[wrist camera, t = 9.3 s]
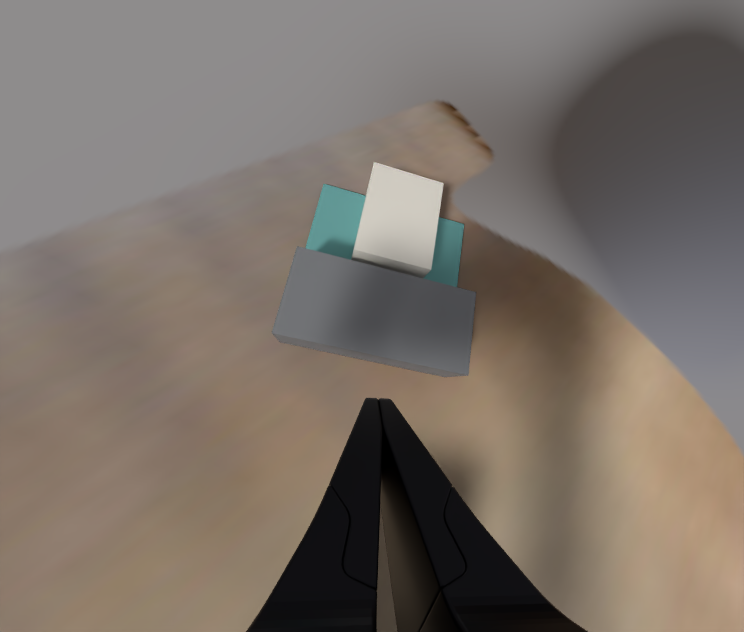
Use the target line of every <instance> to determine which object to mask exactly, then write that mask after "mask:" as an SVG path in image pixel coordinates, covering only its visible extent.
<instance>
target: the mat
mask: <svg viewBox="0 0 744 632" xmlns="http://www.w3.org/2000/svg"><path fill="white" fill-rule="evenodd" d="M365 197H366V196H365V195H361V194H358V193H354V192H351V191H347V190H344V189H340V188H337V187H333V186H330V185H326V184H324V185H323V188H322V192H321V195H320V199H319V202H318V206H317V209H316V213H315V216H314V220H313V223H312V227H311V230H310V234H309V238H308V241H307V245H306V249H310V250H314V251H318V252H322V253H326V254H330V255H334V256H337V257H341V258H345V259H349V260H351V258H352V254H353V249H354V245H355V241H356V236H357V232H358V228H359V223H360V219H361V215H362V210H363V206H364V202H365ZM463 229H464V224H462V223H458V222H455V221H451V220H448V219H444V218H441V217H439V219H438V226H437V233H436V240H435V247H434V254H433V261H432V268H431V271H430V272H429V273H428V274H427V275H426V276H425V277H424V278H423V279H427V280H431V281H435V282H439V283H443V284H446V285H450V286H454V287H457V282H458V273H459V265H460V256H461V247H462V238H463Z"/></svg>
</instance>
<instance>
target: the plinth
mask: <svg viewBox="0 0 744 632" xmlns="http://www.w3.org/2000/svg"><path fill="white" fill-rule="evenodd" d="M475 299H476V292H474V291H470V290H466V289H462V288H458V287H454V286H450V285H446V284H443V283H439V282H435V281H431V280H427V279H423V278H419V277H415V276H411V275H408V274H404V273H400V272H396V271H392V270H388V269H384V268H380V267H376V266H373V265H369V264H365V263H361V262H357V261H353V260H349V259H345V258H341V257H337V256H334V255H330V254H326V253H322V252H318V251H314V250H310V249H306V248H302V247H299V246H297V248H296V252H295V255H294V258H293V262H292V265H291V269H290V272H289V276H288V279H287V282H286V286H285V289H284V293H283V296H282V299H281V303H280V306H279V310H278V313H277V317H276V320H275V323H274V327H273V330H272V334H273V335H274V336H275V337H276V338H277V340H278V341H279V342H282V343H287V344H291V345H296V346H301V347H305V348H310V349H315V350H320V351H324V352H329V353H334V354H338V355H343V356H348V357H352V358H357V359H362V360H367V361H371V362H376V363H381V364H385V365H390V366H395V367H400V368H404V369H409V370H414V371H418V372H423V373H428V374H433V375H437V376H442V377H453V376H468V374H469V363H470V353H471V342H472V331H473V320H474V310H475Z"/></svg>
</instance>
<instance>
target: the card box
mask: <svg viewBox="0 0 744 632" xmlns="http://www.w3.org/2000/svg"><path fill="white" fill-rule="evenodd" d="M443 184H444V183H441V182H438V181H435V180H431V179H428V178H425V177H422V176H418V175H415V174H412V173H408V172H405V171H402V170H399V169H395V168H392V167H389V166H385V165H382V164H379V163H376V162H374V165H373V169H372V173H371V177H370V181H369V185H368V189H367V193H366V197H365V202H364V206H363V210H362V215H361V219H360V223H359V228H358V232H357V236H356V241H355V245H354V249H353V254H352V258H351V260H353V261H357V262H361V263H365V264H369V265H373V266H376V267H380V268H384V269H388V270H392V271H396V272H400V273H404V274H408V275H411V276H415V277H419V278H424V277H425V276H426V275H427V274H428V273H429V272H430V271H431V268H432V261H433V254H434V247H435V240H436V233H437V226H438V219H439V212H440V205H441V198H442V191H443Z"/></svg>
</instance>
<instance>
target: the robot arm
mask: <svg viewBox="0 0 744 632" xmlns="http://www.w3.org/2000/svg"><path fill="white" fill-rule="evenodd" d="M380 504H381V512H382V519H383V526H384V534H385V541H386V549H387V556H388V564H389V571H390V579H391V586H392V593H393V601H394V608H395V616H396V623H397V631H398V632H588V631H586V630H585V629H583V628H582V627H580V626H579V625H577V624H576V623H574V622H573V621H572V620H570V619H569V618H567V617H566V616H565V615H564V614H562V613H561V612H560V611H559V610H558V609H557V608H555V607H554V606H553V605H552V604H551V603H550V602H549V601H548V600H547V599H546V598H545V597H544V596H543V595H542V594H541V593H540V592H539V591H538V589H537V588H536V587H535V586H534V585H533V584H532V583H531V582H530V580H529V579H528V578H527V577H526V576H525V575H524V573H523V572H522V571H521V570H520V569H519V568H518V566H517V565H516V564H515V563H514V562H513V561H512V559H511V558H510V557H509V556H508V555H507V554H506V552H505V551H504V550H503V549H502V548H501V547H500V545H499V544H498V543H497V542H496V541H495V540H494V538H493V537H492V536H491V535H490V534H489V532H488V531H487V530H486V529H485V528H484V526H483V525H482V524H481V523H480V521H479V520H478V519H477V518H476V517H475V515H474V514H473V513H472V511H471V510H470V509H469V507H468V506H467V505H466V503H465V502H464V501H463V499H462V498H461V497H460V495H459V494H458V492H457V491H456V489H455V488H454V487H452V484H451V483H450V481H449V480H448V478H447V477H446V476H445V474H444V473H443V471H442V470H441V469H440V467H439V466H438V464H437V463H436V462H435V460H434V459H433V457H432V456H431V455H430V453H429V452H428V450H427V449H426V448H425V446H424V445H423V443H422V442H421V441H420V439H419V438H418V436H417V435H416V434H415V432H414V431H413V430H412V428H411V427H410V425H409V424H408V423H407V421H406V420H405V418H404V417H403V416H402V414H401V413H400V411H399V410H398V409H397V407H396V406H395V404H394V403H393V402H392V400H391V399H382V398H380V399H379V400H378V399H377V398H366V399H365V401H364V403H363V405H362V408H361V410H360V413H359V415H358V417H357V420H356V422H355V424H354V427H353V429H352V431H351V434H350V436H349V439H348V441H347V443H346V446H345V448H344V450H343V453H342V455H341V457H340V460H339V462H338V464H337V467H336V469H335V472H334V474H333V476H332V479H331V481H330V483H329V486H328V488H327V490H326V492H325V495H324V497H323V499H322V501H321V504H320V506H319V508H318V510H317V512H316V514H315V517H314V518H313V520H312V522H311V524H310V526H309V528H308V530H307V532H306V533H305V535H304V537H303V539H302V541H301V542H300V544H299V546H298V548H297V549H296V551H295V553H294V555H293V556H292V558H291V560H290V562H289V563H288V565H287V567H286V568H285V570H284V572H283V574H282V575H281V577H280V579H279V581H278V582H277V584H276V586H275V588H274V589H273V591H272V593H271V594H270V596H269V598H268V599H267V601H266V603H265V604H264V606H263V607H262V609H261V610H260V612H259V614H258V615H257V617H256V618H255V620H254V621H253V622H252V624H251V625H250V627H249V628H248V630H247V631H246V632H377V629H376V616H377V592H376V591H377V580H378V551H379V523H380Z"/></svg>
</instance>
